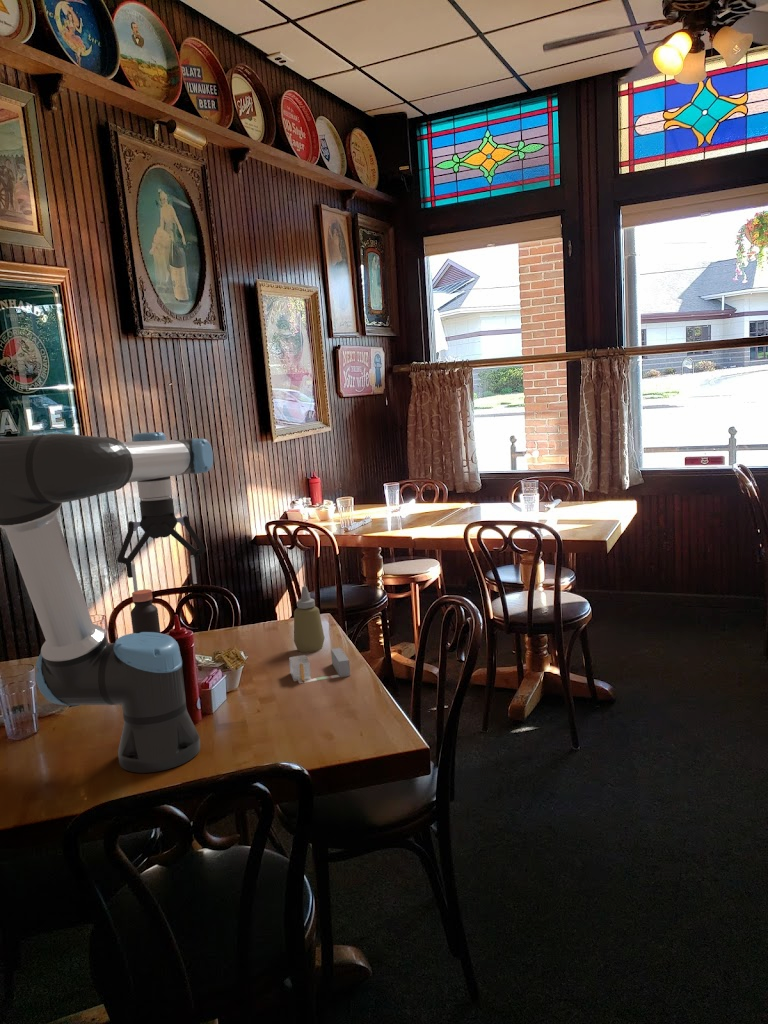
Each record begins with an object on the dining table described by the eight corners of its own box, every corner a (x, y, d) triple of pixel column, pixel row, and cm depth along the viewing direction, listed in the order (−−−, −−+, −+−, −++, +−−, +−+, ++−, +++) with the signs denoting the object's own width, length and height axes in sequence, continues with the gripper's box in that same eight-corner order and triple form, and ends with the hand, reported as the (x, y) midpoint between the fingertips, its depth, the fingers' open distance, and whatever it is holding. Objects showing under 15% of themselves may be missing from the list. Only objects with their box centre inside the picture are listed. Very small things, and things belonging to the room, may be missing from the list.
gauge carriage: (311, 680, 177) (310, 664, 176) (294, 683, 176) (293, 666, 175) (307, 670, 184) (305, 654, 183) (290, 673, 183) (289, 657, 182)
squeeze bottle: (319, 658, 196) (313, 590, 193) (290, 657, 198) (283, 590, 196) (330, 648, 204) (324, 583, 201) (302, 647, 206) (296, 583, 203)
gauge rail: (350, 681, 178) (349, 660, 178) (287, 691, 175) (285, 670, 174) (342, 667, 188) (340, 647, 187) (281, 677, 184) (279, 656, 183)
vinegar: (132, 667, 200) (123, 593, 197) (155, 659, 205) (146, 587, 202) (146, 671, 196) (137, 596, 193) (169, 663, 201) (160, 590, 198)
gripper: (208, 491, 186) (217, 576, 188) (100, 502, 178) (111, 590, 181) (211, 494, 178) (220, 582, 181) (98, 505, 171) (109, 597, 174)
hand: (165, 586), depth 181 cm, fingers open, 13 cm apart
